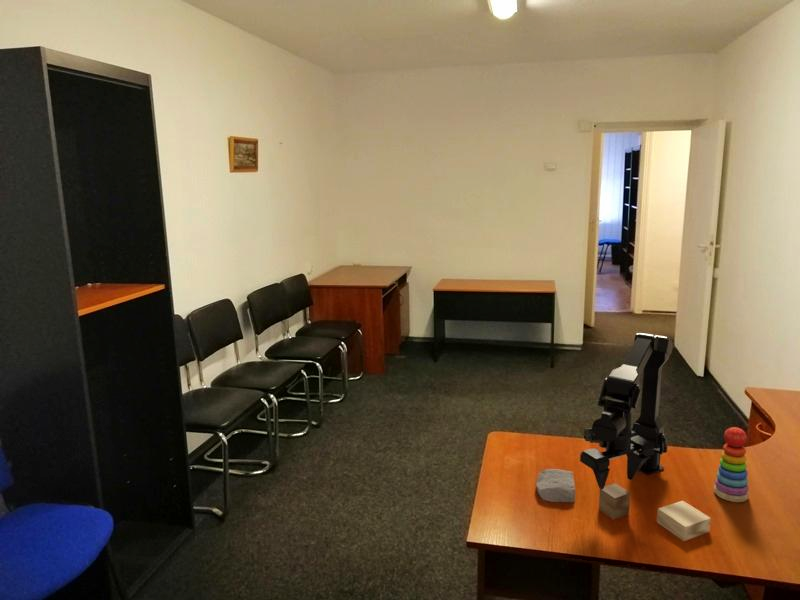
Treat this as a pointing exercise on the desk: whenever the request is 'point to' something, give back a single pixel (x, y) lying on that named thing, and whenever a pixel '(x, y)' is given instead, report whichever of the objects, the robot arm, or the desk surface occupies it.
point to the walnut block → (614, 501)
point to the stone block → (556, 485)
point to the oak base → (683, 520)
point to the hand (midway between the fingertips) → (615, 483)
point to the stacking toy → (733, 468)
